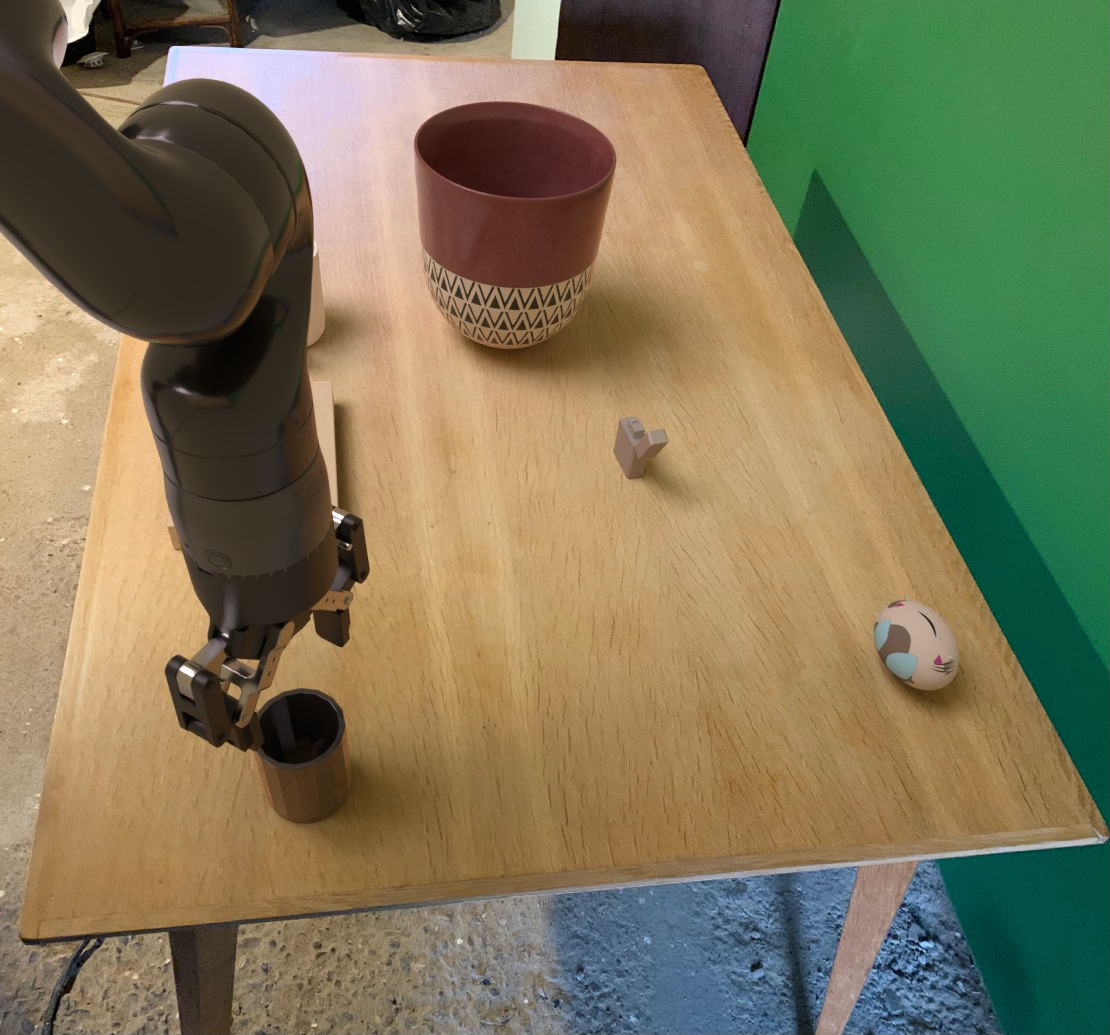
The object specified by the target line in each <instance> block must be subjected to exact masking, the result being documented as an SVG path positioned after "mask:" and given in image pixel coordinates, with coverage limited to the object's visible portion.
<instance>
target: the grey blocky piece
mask: <svg viewBox="0 0 1110 1035" xmlns="http://www.w3.org/2000/svg"><path fill="white" fill-rule="evenodd" d="M668 444H669V439H668V435H667V433H666V429H665V428H659V429H652V430H648V431H646V429H645V427H644V425H643V423H642V421H641V419H640V418H639V417H636V416H634V415H633V416H627V417H620V419H619V421H618V425H617V431H616V437H615V441H614V446H613V454H614V456H615V458H616V460H617V462H618V464H619V466H620V468H621V470H622V472H623V474H624V476H625V477H626V479H628V480H629V479H636V478H642V477H643V475H644V473H645V468H646V464H647V460H648V459H653V458H656V457H657V456H658V454H659V453H661V451H663V449H664V448H665V447H666V446H667V445H668Z"/></svg>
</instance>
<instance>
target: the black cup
mask: <svg viewBox="0 0 1110 1035" xmlns="http://www.w3.org/2000/svg"><path fill="white" fill-rule="evenodd" d="M256 713H257V715H258V719H259V723H260V726H261V730H262V734H263V737H264V743H263V744H262V745H261V747H260V748H259V749H258V750H257V751H256V752H255V751H253V754H254V757H255V761H256V765H257V769H258V771H259V776H260V778H261V782H262V786H263V789H264V793H265V797H266V799H267V801H268V803H269V805H270V807H271V808H272V810H273V811H274V812H275V813H276V814H277V815H278V816H280V817H281V818H282V819H284V820H287V821H290V822H293V823H296V824H297V823H298V824H311V823H316V822H319V821H322V820H324V819H327V818H329V817H330V816H332V815H334V814H335V813H336V812H337V811H338V810H339V809H340V808H341V807H342V806H343V805H344V804H345V802H346V800H347V799H348V797H349V795H350V793H351V789H352V784H353V783H352V782H353V771H352V765H351V756H350V749H349V740H348V732H347V725H346V724H347V723H346V719H345V714H344V709H343V708H342V707H341V706H340V705H339V703H338V702H337V701H336V699H335V698H334V697H333V696H330V695H329V694H327V693H325V692H323V691H322V690H319V689H313V688H306V687H299V688H293V689H289V690H284V691H282V692H280V693H279V694H276V695H275V696H273V697H271V698H270V699H268V700H267V701H266V702H265V703H264V704H263V705H262V707H260V709H258V711H257V712H256Z"/></svg>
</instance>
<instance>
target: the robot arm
mask: <svg viewBox="0 0 1110 1035" xmlns="http://www.w3.org/2000/svg"><path fill="white" fill-rule="evenodd" d="M67 17H68V16H67V14H66V10H65V9H64V6H63V4H62V2H61V1H60V0H0V234H1V235H2V236H3V237H4V238H6V240H8V242H9V243H10V244H11V245H12V246H13V247H14V248H15V249H16V250H17V251H18V252H19V253H20V254H21V255H22V256H23V257H24V258H25V259H26V260H27V261H28V262H29V263H30V264H31V266H33V267H34V268H35V269H36V270H37V271H38V272H39V273H40V274H41V275H42V276H43V277H44V278H45V279H46V280H47V281H48V282H49V283H50V284H51V285H52V286H53V287H54V288H55V289H56V290H58V292H60V293H61V294H62V295H63V296H64V297H65V298H66V299H68V301H70V302H71V303H73V304H74V305H75V306H76V307H78V308H79V309H81V311H83V312H84V313H86V314H87V315H88V316H90V317H92V318H93V319H95V320H96V321H98V322H100V323H101V324H103V325H105V326H107V327H109V328H111V329H112V330H114V331H116V332H118V333H121V334H123V335H126V336H127V337H131V338H133V339H136V340H139V341H142V342H145V343H147V347H146V350H145V353H144V355H143V359H142V362H141V366H140V373H139V374H140V375H139V379H140V380H139V382H140V390H141V396H142V403H143V407H144V411H145V414H146V418H147V421H148V424H149V426H150V430H151V433H152V436H153V440H154V443H155V447H156V450H157V453H158V456H159V460H160V463H161V464H160V465H161V469H162V474H163V484H164V485H163V486H164V495H165V499H166V504H167V507H168V512H169V511H170V514H171V517H172V520H173V524H174V527H175V530H176V533H177V536H178V540H179V543H180V547H181V549H180V550H181V553H182V557H183V559H184V563H185V565H186V569H187V572H188V575H189V576H188V577H189V578H190V583H191V585H192V588H193V591H194V593H195V595H196V597H197V599H198V600H199V602H200V604H201V605H202V607H203V608H204V611H205V612H206V613H207V615H208V617H209V623H208V624H209V625H208V628H207V635H206V636H207V641H208V642H207V643H206V644H204V646H203V647H202V648H200V650H198V651H197V652H196V653H195V654H194V655H193V656H192V657H191V658H190V659H188V658H187V657H184V656H183V655H181V654H176V655H174V656H172V657H171V658H170V659H169V661H168V662H167V663H166V664H165V668H164V676H165V679H166V683H167V686H168V690H169V694H170V697H171V700H172V704H173V707H174V711H175V715H176V717H177V722H178V724H179V728H181V729H183V730H185V731H186V732H189V733H192V734H193V735H195V736H197V737H198V738H201V739H202V740H204V741H206V742H207V743H208V744H209V745H210V746H213V747H214V748H216V749H219V748H221V747H223V746H224V744H225V743H226V744H229V745H230V746H233V747H234V748H236V749H237V750H239V751H241V752H243V753H247V751H248V750H250V751H252V752H254V751H255V752H256V751H257V750H258V749H259V748H260V747H261V745H262V744H263V743H264V737H263V734H262V730H261V726H260V723H259V719H258V715H257V712H256V708H257V704H258V701H259V698H260V695H261V692H263V691H265V690H267V689H269V688H271V686H273V685H272V684H273V681H274V679H275V675H276V673H277V669H278V666H279V663H280V661H281V657H282V654H283V651H285V649H286V648H287V647H288V645H289V644H290V643H291V640H292V639H293V638H294V636H296V635H298V633H299V632H301V630H303V629H304V628H305V627H306V626H307V624H308V623H309V622H310V621H311V615H312V618H313V624H314V630H315V633H316V635H317V636H318V637H319V638H320V639H323V640H324V641H326V642H328V643H330V644H333V645H334V646H336V647H338V648H341V649H342V648H344V647H345V645H346V644H347V643H348V642H349V641H350V639H351V636H350V627H351V615H350V614H351V613H350V605H351V604H352V603H353V600H354V596H355V595H354V592H353V591H352V589H353V587H354V585H355V584H356V583H358V584H361V585H362V584H363V583H365V581H366V580H367V579H368V577H369V574H370V571H371V568H370V567H371V566H370V561H369V555H368V554H369V553H368V548H367V541H366V540H367V539H366V534H365V527H364V521H363V518H361V517H359V516H357V515H355V514H353V513H351V512H348V511H347V510H344V509H342V508H340V507H339V506H338V507H336V506H334V505H332V502H331V494H330V486H329V479H328V472H327V467H326V463H325V460H324V457H323V454H322V451H321V448H320V445H319V440H318V436H317V427H316V419H315V411H314V404H313V396H312V389H311V383H310V382H311V378H310V374H309V369H308V368H309V367H308V347H307V344H308V332H309V322H310V311H311V295H312V275H313V253H314V239H315V221H314V206H313V198H312V191H311V190H312V189H311V185H310V181H309V176H308V173H307V170H306V165H305V164H304V160H303V158H302V156H301V154H300V151H299V149H298V147H297V144H296V142H295V140H294V139H293V137H292V135H291V134H290V132H289V130H288V129H287V128H286V126H285V125H284V123H282V121H281V120H280V118H278V116H277V115H276V114H275V113H274V112H273V111H272V110H271V109H270V108H269V107H268V106H267V105H266V104H265V103H264V102H263V101H261V100H260V99H259V98H257V97H256V96H255V95H253V94H252V93H251V92H249V91H248V90H245V89H244V88H242V87H240V86H237V85H235V84H234V83H231V82H226V81H224V80H219V79H212V78H205V77H204V78H203V77H198V78H197V77H196V78H188V79H182V80H178V81H175V82H172V83H170V84H168V85H165V86H164V87H161V88H160V89H158V90H156V91H154V92H153V93H151V94H150V95H149V96H148V97H146V98H145V99H144V100H143V101H142V102H141V103H140V104H139V105H138V106H137V107H136V108H135V109H134V110H133V111H132V112H131V113H130V114H129V115H128V116H127V118H126V119H125V120H124V121H123V122H122V123H121V124H120V125H119V126H118V127H117V128H115V127H114V126H112V125H111V124H110V123H109V121H108V120H107V119H105V118H104V117H103V116H102V115H101V114H100V112H98V111H97V109H96V108H95V107H94V106H92V105H91V103H90V102H89V101H88V100H87V99H86V98H85V97H84V96H83V95H82V94H81V93H80V91H79V90H78V89H77V88H75V86H74V85H73V84H72V82H70V80H69V79H68V78H67V77H66V75H65V74H63V72H62V71H61V67H62V64H63V63H64V59H65V55H66V53H67V52H66V51H67V48H68V44H69V22H68V18H67ZM240 660H249V661H250V660H251V661H258V663H257V667H256V669H255V668H254V667H251V666H250V665H248V664H246V663H244V662H243V661H240ZM231 684H233V685H234V686H236V687H238V688H239V690H240V696H239V699H238V698H236V697H235V696H233V695H230V694H229V689H230V686H231Z"/></svg>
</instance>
